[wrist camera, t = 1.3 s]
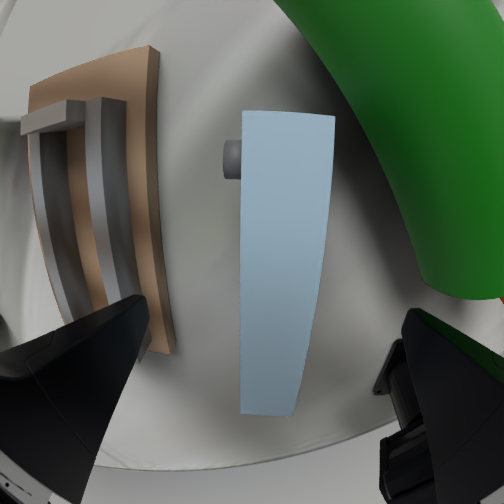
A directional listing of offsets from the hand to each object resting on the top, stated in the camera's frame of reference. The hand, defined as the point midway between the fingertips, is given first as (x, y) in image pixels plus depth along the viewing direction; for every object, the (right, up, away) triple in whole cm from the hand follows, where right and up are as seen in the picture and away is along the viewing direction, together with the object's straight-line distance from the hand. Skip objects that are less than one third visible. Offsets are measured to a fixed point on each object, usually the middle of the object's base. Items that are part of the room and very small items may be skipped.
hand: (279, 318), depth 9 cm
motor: (+4, +15, -3) cm, 16 cm away
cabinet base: (-11, +5, +8) cm, 15 cm away
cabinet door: (+1, +3, +7) cm, 8 cm away
